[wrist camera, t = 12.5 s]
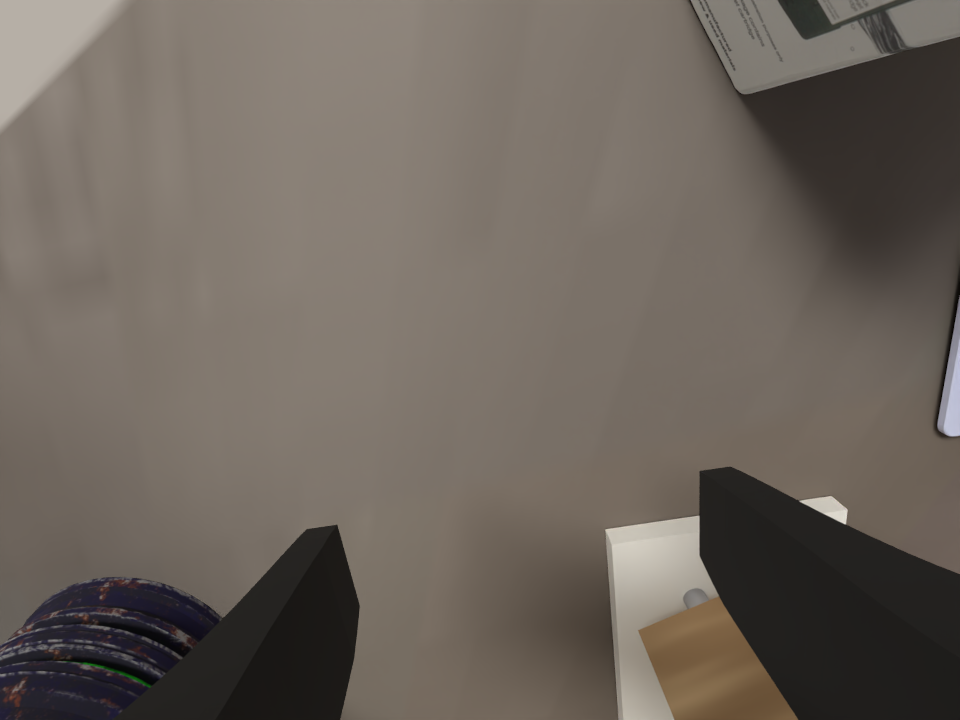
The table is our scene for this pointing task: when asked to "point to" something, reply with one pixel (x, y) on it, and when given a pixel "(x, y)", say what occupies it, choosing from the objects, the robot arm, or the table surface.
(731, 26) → the ink box
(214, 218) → the table surface
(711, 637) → the tan wooden block
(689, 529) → the peg stand
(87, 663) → the storage jar
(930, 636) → the robot arm
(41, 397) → the table surface
